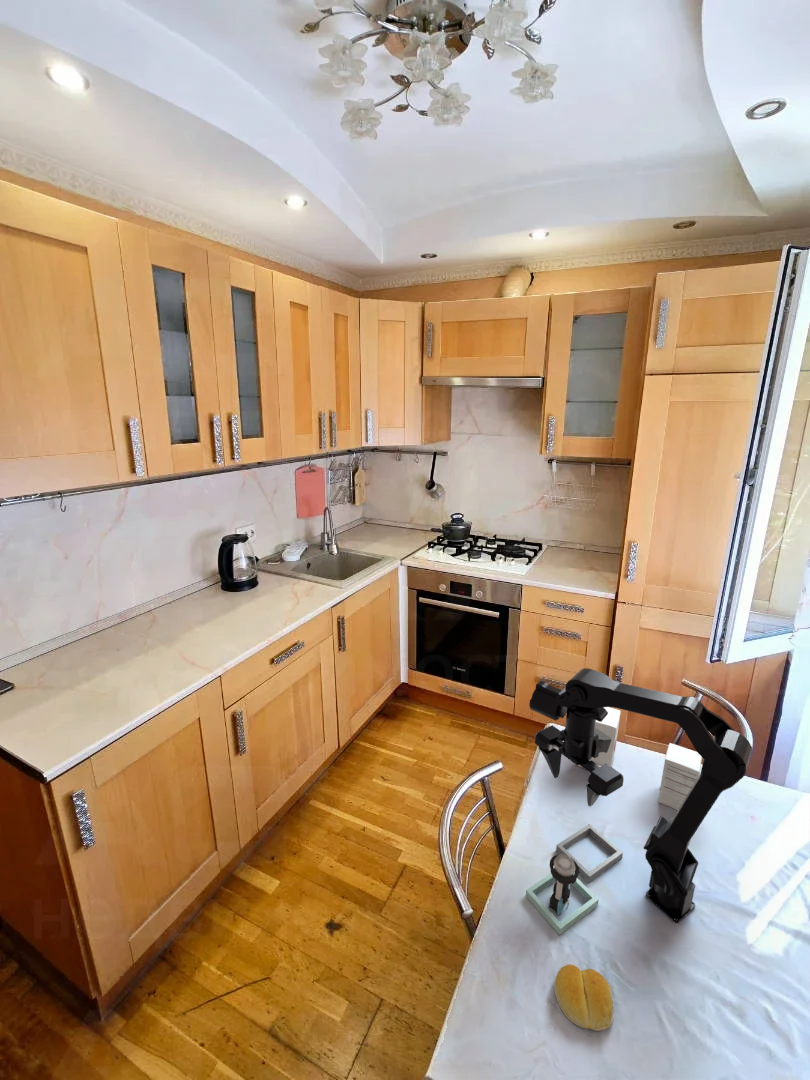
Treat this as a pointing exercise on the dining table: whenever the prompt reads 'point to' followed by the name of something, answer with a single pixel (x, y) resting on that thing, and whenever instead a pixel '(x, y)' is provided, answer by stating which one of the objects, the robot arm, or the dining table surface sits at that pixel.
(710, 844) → the dining table surface
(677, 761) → the supplement box
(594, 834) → the grey rectangular frame
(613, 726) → the supplement box
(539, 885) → the mint green frame
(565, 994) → the bread roll
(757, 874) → the dining table surface
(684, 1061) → the dining table surface
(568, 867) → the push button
